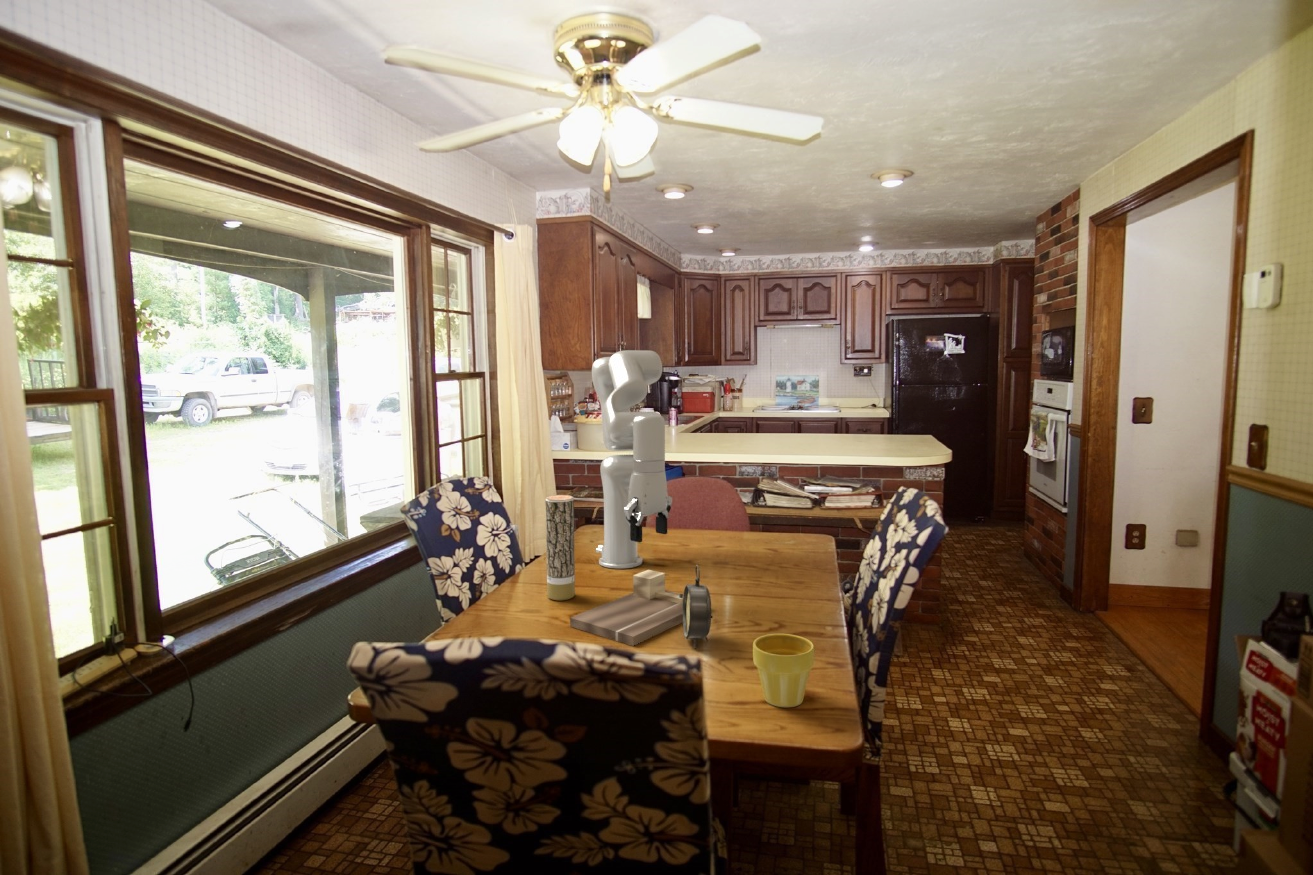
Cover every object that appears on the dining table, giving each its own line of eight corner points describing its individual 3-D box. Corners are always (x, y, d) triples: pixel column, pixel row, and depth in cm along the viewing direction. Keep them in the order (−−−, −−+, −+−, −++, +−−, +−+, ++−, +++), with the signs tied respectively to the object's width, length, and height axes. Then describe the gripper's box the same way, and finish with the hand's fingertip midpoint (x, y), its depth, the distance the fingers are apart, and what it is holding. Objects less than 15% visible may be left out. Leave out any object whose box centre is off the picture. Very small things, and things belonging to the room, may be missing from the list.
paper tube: (552, 603, 170) (551, 501, 168) (543, 595, 176) (541, 496, 174) (579, 598, 173) (577, 498, 171) (569, 591, 179) (567, 494, 177)
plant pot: (751, 684, 127) (751, 631, 126) (809, 686, 126) (810, 633, 125) (753, 712, 116) (754, 654, 115) (817, 714, 115) (818, 657, 114)
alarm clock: (681, 632, 151) (681, 558, 150) (706, 631, 152) (706, 557, 150) (687, 652, 141) (688, 573, 139) (714, 651, 141) (715, 572, 139)
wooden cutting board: (570, 626, 155) (570, 617, 155) (649, 594, 177) (649, 586, 177) (633, 646, 144) (633, 636, 144) (709, 609, 166) (709, 600, 166)
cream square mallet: (633, 595, 170) (633, 575, 169) (648, 589, 174) (648, 569, 174) (676, 606, 162) (676, 585, 161) (691, 599, 166) (691, 579, 166)
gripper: (658, 461, 176) (658, 528, 178) (613, 469, 163) (613, 542, 165) (683, 464, 172) (682, 532, 174) (638, 472, 158) (638, 547, 160)
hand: (649, 537), depth 169 cm, fingers open, 9 cm apart
